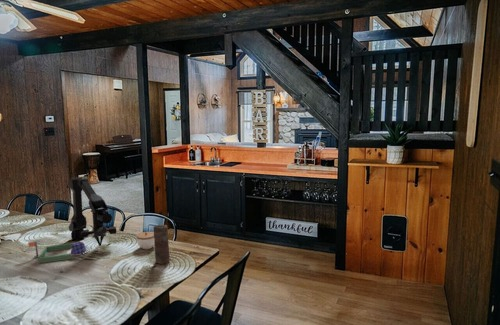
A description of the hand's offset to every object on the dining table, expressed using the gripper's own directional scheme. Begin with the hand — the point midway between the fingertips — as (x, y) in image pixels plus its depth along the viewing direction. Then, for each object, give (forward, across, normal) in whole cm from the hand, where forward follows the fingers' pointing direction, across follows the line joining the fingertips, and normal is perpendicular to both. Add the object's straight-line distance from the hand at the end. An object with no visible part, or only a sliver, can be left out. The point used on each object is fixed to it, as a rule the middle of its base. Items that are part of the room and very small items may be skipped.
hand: (100, 245), depth 202 cm
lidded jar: (+2, +26, -8) cm, 27 cm away
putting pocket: (+2, -25, 0) cm, 25 cm away
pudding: (+2, -12, 0) cm, 12 cm away
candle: (+2, +32, -32) cm, 45 cm away
